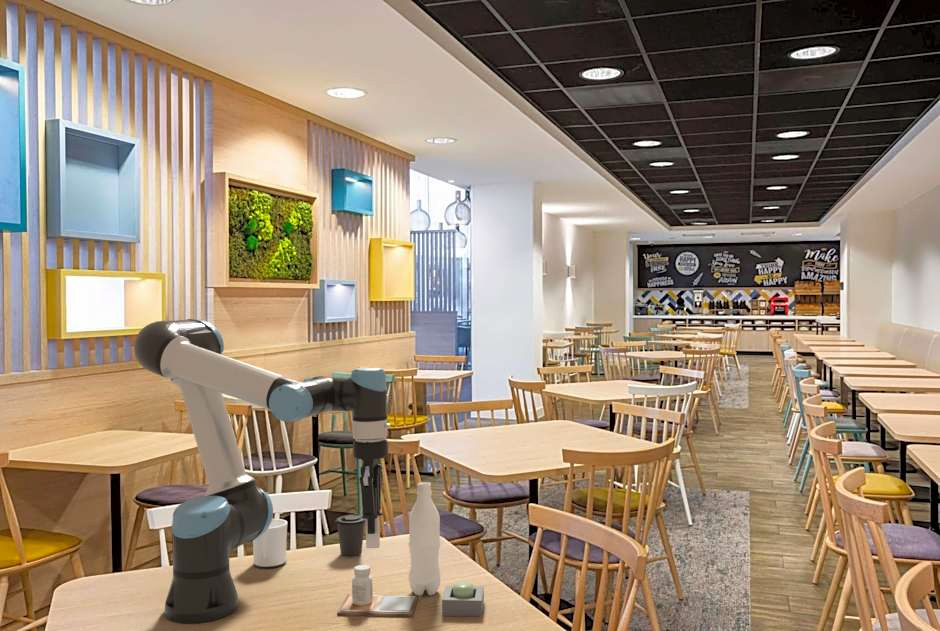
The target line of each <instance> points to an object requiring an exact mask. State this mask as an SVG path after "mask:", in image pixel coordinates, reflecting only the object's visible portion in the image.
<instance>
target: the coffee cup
mask: <svg viewBox="0 0 940 631" xmlns="http://www.w3.org/2000/svg"><path fill="white" fill-rule="evenodd" d="M334 522H335V524H336V525H337V532H338V541H339V550H340V555H341V556H342V557H344V558H345V557H346V558H356V557H359V556H361V555H362V552H363V551H362V550H363V541H364V531H365V524H366V519H362V515H358V514H344V515H342V516H339V517H337V518H336V519H335V521H334Z"/></svg>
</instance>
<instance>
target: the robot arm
mask: <svg viewBox="0 0 940 631" xmlns="http://www.w3.org/2000/svg"><path fill="white" fill-rule="evenodd" d="M224 347H225V344H224V340H223V337H222V334H221V332H220V331H219V330H218V328H217V327H216V326H214V325H213V324H212V323H210V322H209V321H206V320H203V319H196V318H195V319H194V318H188V319H178V320H157V321H153V322H151V323H149V324H147V325H145V326H144V327H143V328H142V329H141V330H140V331H139V332H138V333H137V335H136V337H135V340H134V344H133V353H134V356H135V359H136V361H137V363H138V364H139V365H140V366H141V367H142V368H144V370H146V371H148V372H150V373H153V374H155V375H158V376H161V377H163V378H165V379H166V378H167V379H169V380H170V381H171V382H170V383H171V384H173V385H174V386H175V385H176V386H177V387H178V388H179V389H180V392H181V394H182V398H183V402H184V405H185V409H186V412H187V416H188V418H189V422H190V425H191V429H192V432H193V435H194V439H195V442H196V446H197V449H198V452H199V456H200V459H201V463H202V466H203V471H204V473H205V476H206V480H207V483H208V488H207V490H206V491H205V493H204V496H203V495H202V496H200V497H196V498H191V499H188V500H186V501H183V502H181V503H180V504H179V505H178V506H176V508H174V510H173V514H172V522H171V532H172V533H171V534H172V535H171V537H172V538H171V539H172V544H171V545H172V580H171V583H170V586H169V590H168V593H167V595H166V599H165V601H164V616H165V618H167V619H168V620H170V621H172V622H176V623H182V624H183V623H186V624H195V623H204V622H211V621H215V620H218V619H219V620H220V619H222V618H224V617H227V616H230V615H231V614H233V613H234V612H235V611H237V609H239V608H238V607H239V594H238V592H237V589H236V585H235V582H234V579H233V577H232V574H231V572H230V571H231V570H230V552H231V551H233V550H235V549H236V548H238V547H240V546H243V545H245V544H247V543H250V542H253V540H255V539H256V538H257V537H259V536H260V535H262V534H263V533H264V532H265V531H266V530H267V529H268V527H269V525H270V523H271V521H272V519H274V518H273V517H274V506H273V502H272V500H271V497H270V496H269V494H268V493H267V492H266V491H264V489H262V488H260V487H258V486H257V483H256V479H255V478H254V477H253V476H251V475H249V474H247V472H246V470H245V466H244V462H243V459H242V456H241V453H240V450H239V447H238V446H239V445H238V443H237V439H236V436H235V432H234V430H233V426H232V422H231V418H230V417H229V416H230V415H229V413H228V410H227V406H226V403H225V399H224V394H225V395H227V396H230V397H233V398H235V399H239V400H241V401H244V402H247V403H249V404H252V405H255V406H258V407H260V408H262V409H263V408H264V409H267V410H269V411H270V412H271V413H272V415H273V416H274V417H275V418H276V419H277V420H279V421H281V422H297V421H301V420H303V419H306V418H310V417H312V416H317V415H320V414H324V413H328V412H351V415H352V421H351V422H352V438H353V439H354V441H353V442H352V451H353V453H352V454H353V458H355V459H356V460H362V466H360V476H359V479H358V480H359V484H360V492H361V505H362V515H361V516H362V519H366V522H365V548H366V549H379V548H380V546H381V545H380V544H381V541H380V539H381V538H380V536H381V535H380V516H384V515H383V513H384V511H381V509H382V505H381V504H382V501H381V500H382V475H383V474H382V473H383V466H382V464H380V459H385V458H386V457H388V456H389V441H388V439H387V437H388V429H389V428H390V427H391V425H390V423H388V411H387V410H388V407H387V406H388V400H387V397H388V396H387V395H388V387H387V376H386V374H387V373H386V371H385V370H384V369H383V368H381V367H358V368H354V369H352V370H351V373H350V376H347V377H346V376H345V377H343V376H342V377H341V376H339V377H338V376H323V375H318V376H309V377H307V378H305V379H304V380H303V381H299V380H296V379H293V378H289V377H286V376H284V375H281V374H278V373H275V372H272V371H269V370H268V369H267V370H266V369H265V368H262V367H259V366H255V365H252V364H250V363H246V362H243V361H240V360H237V359H235V358H231V357H230V356H227V355H225V354H224V355H223V353H224V351H225V350H224V349H225V348H224Z"/></svg>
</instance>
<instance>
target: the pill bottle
mask: <svg viewBox="0 0 940 631" xmlns="http://www.w3.org/2000/svg"><path fill="white" fill-rule="evenodd" d="M353 572H354V573H353V574H354V575H353V577H352V580H351V592H352V593H351V595H352V602H353V604H355V605H360V606H364V605H368V604H370V603H372V600H373V595H374V594H373V577H372V576H371V575H370V574H371V566H370V565H368V564H359V565H356V566H354V570H353Z"/></svg>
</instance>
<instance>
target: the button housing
mask: <svg viewBox="0 0 940 631" xmlns="http://www.w3.org/2000/svg"><path fill="white" fill-rule="evenodd" d="M484 588H485V587H484V586H476V585H475V586H474V585H473V598H454V597H453V585H445V587H444V591H443V595H442V598H441V616H442V617H475V616H480V617H479V618H481V617H483V609H484V603H485V602H484V600H485V599H484V597H485V596H484V595H485V589H484Z"/></svg>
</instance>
